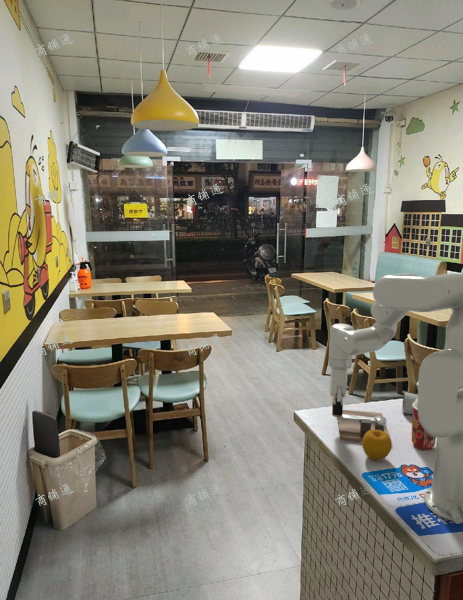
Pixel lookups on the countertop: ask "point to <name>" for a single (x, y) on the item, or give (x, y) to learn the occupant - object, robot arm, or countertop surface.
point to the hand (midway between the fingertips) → (337, 411)
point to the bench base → (358, 426)
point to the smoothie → (420, 431)
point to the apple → (376, 444)
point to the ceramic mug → (408, 402)
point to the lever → (377, 420)
